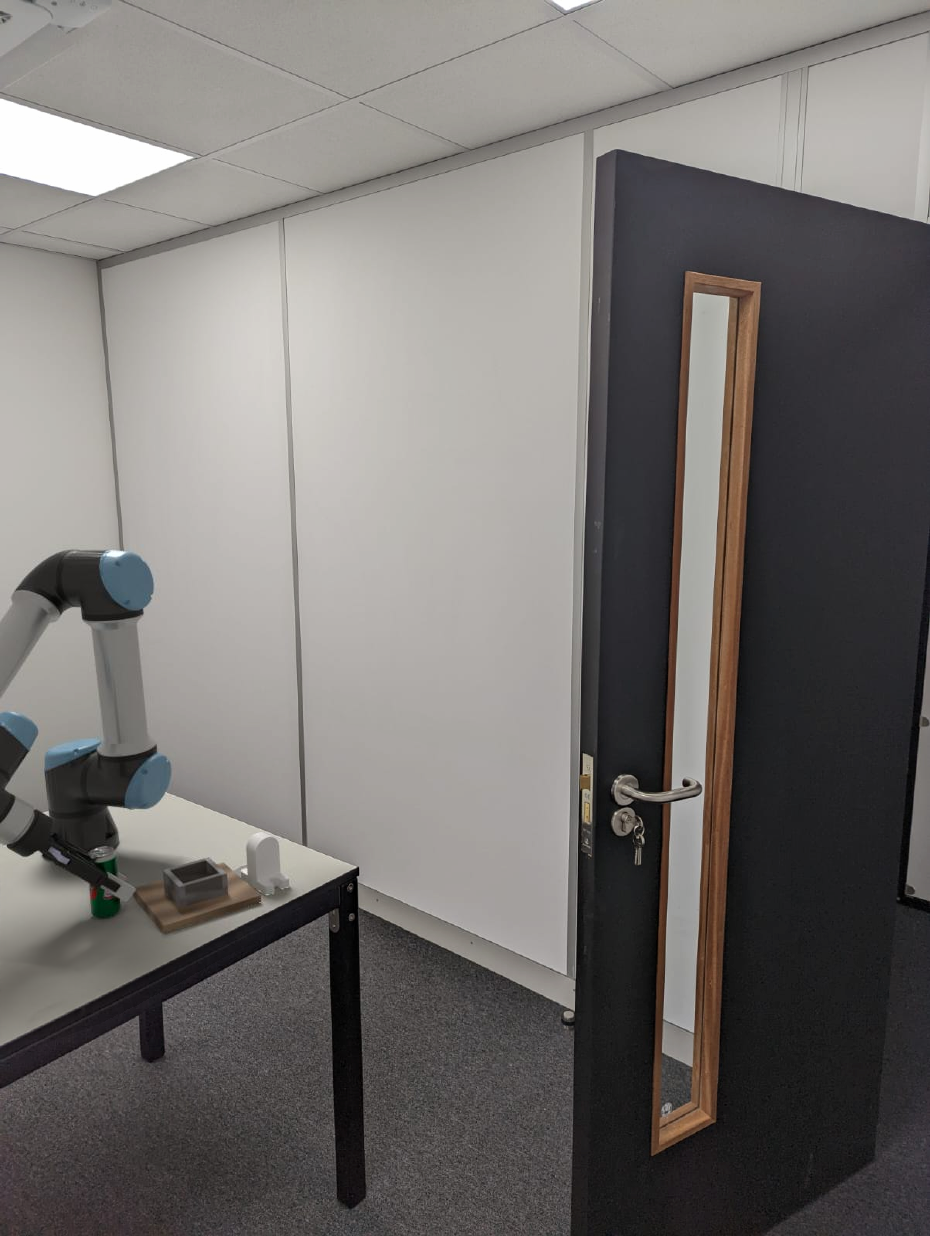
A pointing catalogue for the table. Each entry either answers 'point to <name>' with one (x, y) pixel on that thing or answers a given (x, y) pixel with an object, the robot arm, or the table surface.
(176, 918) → the socket board
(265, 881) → the cable organizer
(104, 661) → the robot arm
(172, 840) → the table surface
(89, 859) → the soda can
